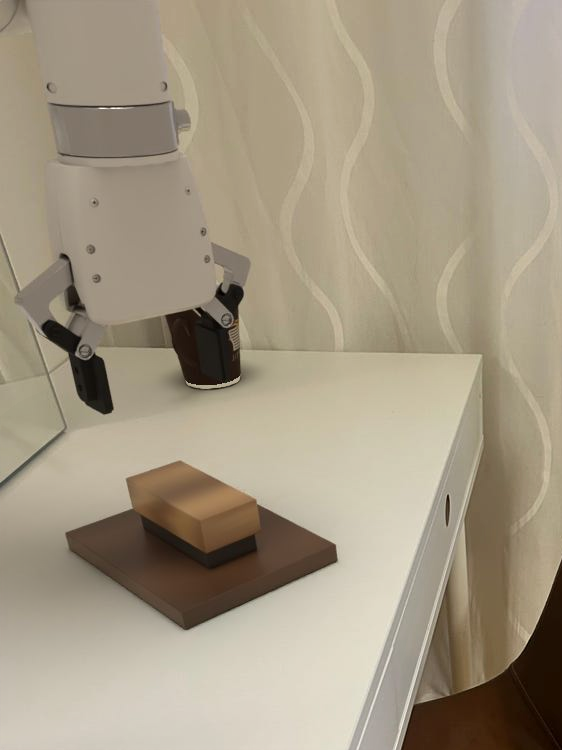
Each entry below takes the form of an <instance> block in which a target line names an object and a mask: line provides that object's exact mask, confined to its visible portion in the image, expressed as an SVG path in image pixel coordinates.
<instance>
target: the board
mask: <svg viewBox="0 0 562 750" xmlns="http://www.w3.org/2000/svg"><path fill="white" fill-rule="evenodd" d="M257 507H258V514H259V520H260V527H261V532H258V533H256V534H255V538H256V544H257V549H255V550H253V551H250V552H248V553H246V554H243V555H241V556H238V557H236V558H234V559H231V560H229V561H227V562H224V563H222V564H219V565H217V566H215V567H212V568H208V567H206V566H205V565H203V564H202V563H200V562H198V561H197V560H195V559H193V558H192V557H190V556H189V555H187V554H185V553H184V552H182V551H180V550H179V549H177V548H176V547H174V546H172V545H171V544H169V543H167V542H166V541H164V540H162V539H161V538H159V537H158V536H156V535H154V534H153V533H151V532H149V531H148V530H146V529H145V528H143V524H142V520H141V515H140V513H138V512H136V511H135V510H133V508H130V509H128V510H125V511H122V512H119V513H116V514H113V515H111V516H108V517H104V518H102V519H99V520H97V521H94V522H91V523H88V524H86V525H83V526H79V527H77V528H74V529H71V530H69V531H66V532H65V533H64V535H65V538H66V542H67V545H68V548H69V549H70V550H71V551H72V552H74V553H75V554H77V555H78V556H79V557H81V558H83V559H84V560H85V561H87V562H88V563H90V564H91V565H92V566H94V567H96V568H97V569H98V570H100V571H101V572H102V573H104V574H105V575H106V576H108V577H109V578H111V579H113V580H114V581H115V582H117V583H118V584H120V585H121V586H122V587H124V588H126V590H129V591H130V592H131V593H132V594H134V595H135V596H137V597H138V598H139V599H141V600H142V601H144V602H146V603H147V604H148V605H150V606H151V607H153V608H154V609H155V610H157V611H158V612H160V613H161V614H163V615H164V616H165V617H167V618H168V619H170V620H171V621H173V622H174V623H175V624H177V625H179V626H180V627H181V628H183V629H184V630H188V629H189V628H192V627H195V626H197V625H199V624H201V623H203V622H205V621H208V620H209V619H212V618H214V617H216V616H219V615H221V614H222V613H225V612H227V611H229V610H231V609H234V608H236V607H238V606H240V605H243V604H245V603H247V602H249V601H251V600H253V599H257V598H258V597H261V596H263V595H265V594H267V593H269V592H271V591H273V590H275V589H278V588H280V587H282V586H284V585H287V584H289V583H291V582H293V581H295V580H298V579H300V578H302V577H304V576H307V575H309V574H310V573H313V572H315V571H318V570H319V569H322V568H324V567H326V566H328V565H330V564H333V563H335V562H337V561H338V551H337V544H336V543H334V542H333V541H331V540H328V539H326V538H324V537H322V536H321V535H319V534H316V533H314V532H313V531H310V530H309V529H307V528H305V527H304V526H301V525H299V524H297V523H295V522H294V521H291V520H289V519H287V518H285V517H284V516H281V515H280V514H278V513H276V512H274V511H273V510H270V509H268V508H266V507H264V506H262V505H260V504H258V503H257Z"/></svg>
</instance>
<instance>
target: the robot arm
mask: <svg viewBox="0 0 562 750" xmlns="http://www.w3.org/2000/svg"><path fill="white" fill-rule="evenodd" d="M29 34H32V38H33V39H32V40H33V44H34V48H35V52H36V57H37V62H38V67H39V72H40V76H41V82H42V86H43V91H44V95H45V100H46V106H47V107H46V108H47V112H48V118H49V122H50V126H51V131H52V136H53V140H54V146H55V150H56V155H57V158H52V159H47V160H45V162H44V187H45V188H44V189H45V193H44V194H45V209H46V210H45V211H46V221H47V230H48V232H47V233H48V239H49V247H50V253H51V260H52V261H51V262H52V264H51V265H50V266H49V267H48V268H46V269H45V270H44V271H43V272H42V273H40V274H39V275H38V276H37V277H35V278H33V279H32V281H30V282H29V283H28V284H27V285H26V286H24V287H23V288H21V290H19V292H17V293H16V294H15V296H14V299H13V301H14V304H15V306H16V307H17V308H18V309H19V310H20V312H21V313H22V315H23V316H24V317H25V318H26V319H27V321H29V322H30V324H31V325H32V326H33V327H34V328H35V331H36V332H37V333H38V334H39V335H40V336H42V337H43V338H45V339H46V340H48V341H50V342H52V344H54V345H55V346H57V347H58V348H60V349H61V350H62V351H64V352H66V353H67V356H68V359H69V363H70V368H71V372H72V373H71V374H72V377H73V381H74V386H75V390H76V393H77V396H78V399H80V401H82V402H83V403H84V404H85V405H86V406H87V407H89V408H91V409H92V410H95V411H96V412H98V413H100V414H102V415H104V416H106V415H109V414H112V413H113V411H114V409H115V407H114V401H113V397H112V393H111V387H110V382H109V378H108V372H107V369H106V367H107V366H106V363H105V360H104V359H103V357H101V356H98V355H97V354H96V350H97V349H98V346H99V344H100V342H101V340H102V338H103V337H104V334H105V332H106V330H107V328H108V327H109V326H116V325H123V324H127V323H132V322H133V323H134V322H138V321H143V320H147V319H152V318H156V317H161V316H165V315H167V314H172V313H176V312H181V311H186V310H190V309H193V310H194V311H195V312H196V313H197V314H198V315H199V316H200V318H201V321H197V322H196V325H195V332H196V339H197V345H198V352H199V359H200V366H201V371H202V373H203V374H205V375H207V376H209V377H211V378H214V379H216V380H218V381H221V382H223V383H225V382H229V381H231V372H230V365H231V353H230V345H229V337H228V329H227V328H229V327H230V326H231V325H232V324H233V321H234V318H233V314H234V312H235V311H236V309H237V307H238V308H239V306H240V304H241V302H242V300H243V299H244V296H245V291H244V287H245V286H246V284H247V279H248V276H249V273H250V269H251V264H252V263H251V260H250V258H248V257H247V256H244V255H242V254H240V253H238V252H235V251H233V250H231V249H228V248H226V247H223V246H221V245H219V244H217V243H215V242H212V241H211V236H210V232H209V227H208V222H207V218H206V217H207V216H206V213H205V209H204V205H203V201H202V198H201V194H200V190H199V187H198V184H197V181H196V178H195V174H194V172H193V169H192V166H191V164H190V161H189V158H188V156H187V154H186V153H183V152H179V151H180V150H179V146H180V139H179V135H180V134H181V132H189V131H190V129H191V126H192V122H191V117H190V115H189V112H188V111H187V110H186V109H185V108H181V109H177V108H176V107H175V102H174V101H173V100H172V98H171V90H170V83H169V76H168V69H167V62H166V54H165V48H164V41H163V33H162V26H161V19H160V11H159V5H158V0H0V39H1V38H2V39H3V38H10V37H16V36H22V35H29ZM215 264H216V265H218V266H220V267H221V268H222V269H223V276H222V279H223V280H222V282H220V283H219V284H220V285H219V287H218V288H217V290H216V284H217V273H216V265H215ZM57 297H58V298H59V300H60V303H61V306H62V308H64V310H65V311H67V312H69V313H70V315H69V316H68V319H67V321H66V322H65V324H64V325H63V324H61V323H60V322H58V321H57V319H56V318H55V317H54V314H52V312H51V311H50V304H51V302H53V301H54V300H55V299H57Z"/></svg>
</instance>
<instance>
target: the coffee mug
mask: <svg viewBox="0 0 562 750" xmlns="http://www.w3.org/2000/svg"><path fill="white" fill-rule="evenodd" d="M220 284H221V283H216V290H217V288H218V287H219V285H220ZM239 315H240V314H239V306H238V307H237V309H236V311H235V312H234V314H233V318H234V321H233V324H232V325H231V326H230V327H229V328H227V329H228V337H229V345H230V353H231V365H230V372H231V381H233V380H234V379H236V378H238V377H239V376H240V374H241V375H242V369H241V367H242V366H241V344H240V343H241V341H240V340H241V339H240V316H239ZM164 318H165V321H166V324H167V326H168V331H169V333H170V337H171V345H172V348H173V350H174V352H175V354H176V356H177V359H178V362H179V366H180V369H181V372H182V376H183V378H184V379H183V380H184V381H185V380H186V381H187V382H188V383H191V384H196V385H217V384H222V383H223V382H221V381H218V380H216V379H214V378H211V377H209V376H207V375H205V374H203V373H202V371H201V366H200V359H199V352H198V345H197V339H196V332H195V325H196V322H197V321H201V318H200V316H199V315H198V314H197V313H196V312H195V311H194V310H193V309H190V310H186V311H181V312H176V313H172V314H167V315H164ZM229 382H230V381H229ZM225 383H227V382H225Z"/></svg>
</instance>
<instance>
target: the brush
mask: <svg viewBox="0 0 562 750" xmlns="http://www.w3.org/2000/svg"><path fill="white" fill-rule="evenodd" d="M125 483H126V486H127V490H128V495H129V499H130V504H131V509H133V510H135V511H136V512H138V513H140V515H141V520H142V524H143V528H145V529H146V530H148V531H149V532H151V533H153V534H154V535H156V536H158V537H159V538H161V539H162V540H164V541H166V542H167V543H169V544H171V545H172V546H174V547H176V548H177V549H179V550H180V551H182V552H184V553H185V554H187V555H189V556H190V557H192V558H193V559H195V560H197V561H198V562H200V563H202V564H203V565H205V566H206V567H208V568H212V567H215V566H217V565H219V564H222V563H224V562H227V561H229V560H231V559H234V558H236V557H238V556H241V555H243V554H246V553H248V552H250V551H253V550H255V549H257V544H256V538H255V534H256V533H258V532H261V527H260V520H259V514H258V507H257V504H258V502H257V499H256V498H255V497H253V496H251V495H249V494H247V493H245V492H243V491H241V490H239V489H237V488H235V487H233V486H231V485H229V484H227V483H225V482H223V481H221V480H220V479H218V478H216V477H213V476H212V475H211V474H208V473H206V472H204V471H202V470H200V469H199V468H196V467H194V466H192V465H190V464H189V463H186V462H184V461H182V460H180V459H179V460H176V461H174V462H171V463H167V464H163V465H162V466H159V467H156V468H155V467H154V468H153V469H150V470H146V471H143V472H141V473H140V472H139V473H138V474H135V475H131V476H129V477H126V478H125Z"/></svg>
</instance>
